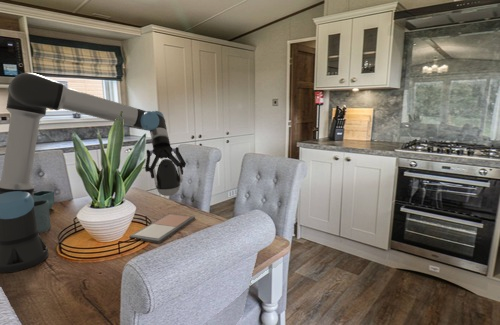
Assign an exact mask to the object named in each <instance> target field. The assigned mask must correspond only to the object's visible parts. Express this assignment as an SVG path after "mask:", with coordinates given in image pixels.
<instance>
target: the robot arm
mask: <svg viewBox="0 0 500 325" xmlns="http://www.w3.org/2000/svg"><path fill="white" fill-rule="evenodd" d="M7 91H8V94H7V101H6V108H5V109H6V110H7V111H8V112H9V114H10V119H9V126H8V132H7V139H6V144H5V151H4V152H5V153H4V158H3V164H2V173H1V177H0V178H1V179H0V273H4V274H5V273H14V272H19V271H23V270H27V269H29V268H32V267H34V266H37V265H39V264H40V263H42V262H44V261H45V260H46V259H47V258H48V257H49V250H48V247H47V245H46V244H45V242H44V241H43V239H42V237H41V236H40V233H39V232H38V226H37V220H36V215H35V209H34V200H33V194H34V193H35V185H34V184H32V182H31V179H32V174H33V173H32V172H33V165H34V159H35V153H36V149H37V148H36V147H37V141H38V140H37V139H38V134H39V127H40V126H39V125H40V120H41V119H42V118H44V117H46V114H47V109H49V110H53V111H59V110H66V111H70V112H75V113H77V114H80V115H81V114H82V115H87V116H89V117H93V118H98V119H102V120H106V121H110V122H114V123H117V122H116V121H115V119H116V118H119V121H122V122H123V119H124V126H123V127H126V128H130V129H137V130H142V131H146V132H147V131H148V132H149V133H150V139H151V143H152V150H149V149H146V161H145V166H144V170H145V172H146V173H147V172H149V173H150V177H151V179H154V186H155V187H156V186H157V177H156V174H157V171H156V166H157V164H158V162H159V160H160V159H162V160H163V159H169V160H171V161H172V162H173V164H174V165H175V167H177V168H176V170H177V172H178V175H179V179H180V183H183V175H184V168H186V164H187V163H186V161H185V159H184V157H183V156H182V153H180V148H179V147H177V146H176V147H174V148H173V147H172V146H171V142H170V138H169V133H168V130H167V129H168V128H167V126H166V125H167V124H166V119H165V116H164V114H163V113H162V112H161V111H159V110H152V111H150V110H144V109H141V108H140V109H139V108H137V107H133V106H131V105H127V104H123V103H120V102H117V101H114V100H113V101H112V100H110V99H106V98H102V97H101V96H100V97H99V96H96V95H94V94H93V95H92V94H89V93H87V92H83V91H79V90H76V89H72V88H70V87H67V86H66V85H65V83H62V82H61V81H60V82H59V81H56V80H53V79H50V78H48V77H45V76H43V75H40V74H37V73H35V72H34V73H33V72H23V73H20V74H17V75H16V76H14V77H13V78H12V80H11V81H10V83H9V84H8V87H7ZM120 111H123V113H122V117H121V116H120ZM118 114H119V115H118ZM117 116H120V117H117ZM116 120H118V119H116ZM173 153H174V154H175V156H176V157H177V158H176V157H175V156H174V155H173ZM152 154H153V155H154V156H155V157H154V159H153V161H152V163H151V165H150V162H151V156H152Z"/></svg>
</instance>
